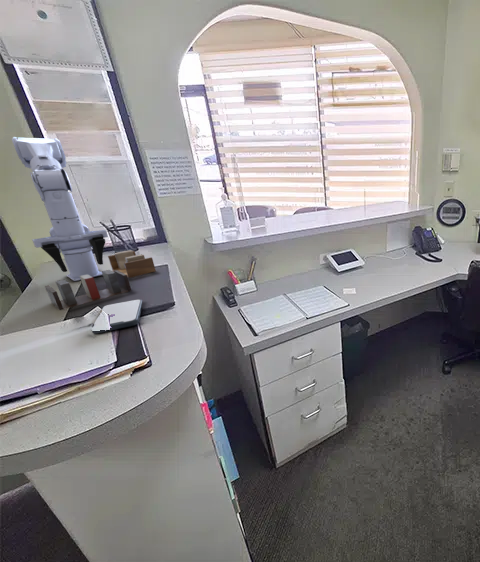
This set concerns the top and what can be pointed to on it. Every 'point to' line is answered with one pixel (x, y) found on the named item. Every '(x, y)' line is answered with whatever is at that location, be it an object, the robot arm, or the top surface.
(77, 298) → the grey book rack
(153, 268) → the wooden desk organizer
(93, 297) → the red boxy piece
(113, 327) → the phone case
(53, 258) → the robot arm
